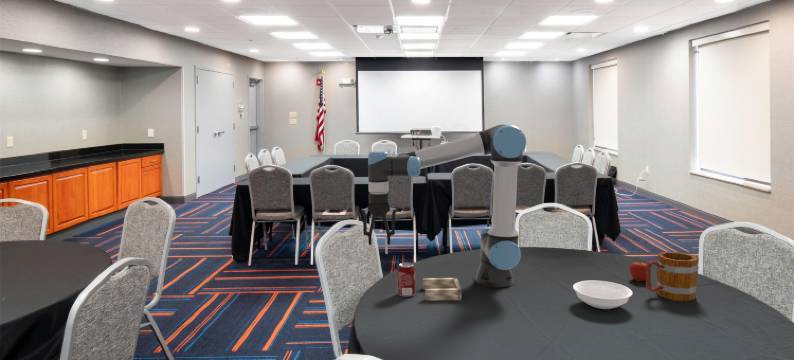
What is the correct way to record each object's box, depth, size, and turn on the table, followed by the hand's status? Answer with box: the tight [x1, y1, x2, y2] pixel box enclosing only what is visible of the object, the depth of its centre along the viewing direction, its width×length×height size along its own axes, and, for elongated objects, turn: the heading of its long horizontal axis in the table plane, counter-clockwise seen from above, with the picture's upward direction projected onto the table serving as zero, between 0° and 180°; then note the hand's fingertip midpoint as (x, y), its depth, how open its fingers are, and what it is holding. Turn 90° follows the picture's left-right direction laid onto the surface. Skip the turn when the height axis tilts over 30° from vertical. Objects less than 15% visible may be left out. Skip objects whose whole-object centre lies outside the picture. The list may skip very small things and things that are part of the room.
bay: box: [422, 277, 463, 302], centre depth 197 cm, size 14×14×4 cm
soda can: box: [396, 262, 416, 298], centre depth 196 cm, size 7×7×12 cm
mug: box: [645, 251, 699, 302], centre depth 192 cm, size 20×14×15 cm
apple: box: [629, 261, 652, 282], centre depth 210 cm, size 8×8×8 cm
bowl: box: [572, 279, 633, 310], centre depth 183 cm, size 20×20×6 cm
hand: (379, 252), depth 195 cm, fingers open, 4 cm apart
